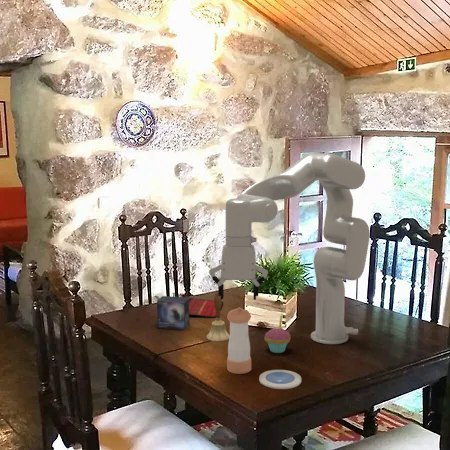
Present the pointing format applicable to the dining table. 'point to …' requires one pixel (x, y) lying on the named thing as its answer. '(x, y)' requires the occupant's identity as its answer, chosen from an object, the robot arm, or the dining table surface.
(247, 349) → the pepper shaker
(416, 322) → the dining table surface
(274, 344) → the cupcake
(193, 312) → the binder
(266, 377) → the coaster
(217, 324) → the hand bell
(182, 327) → the small box
